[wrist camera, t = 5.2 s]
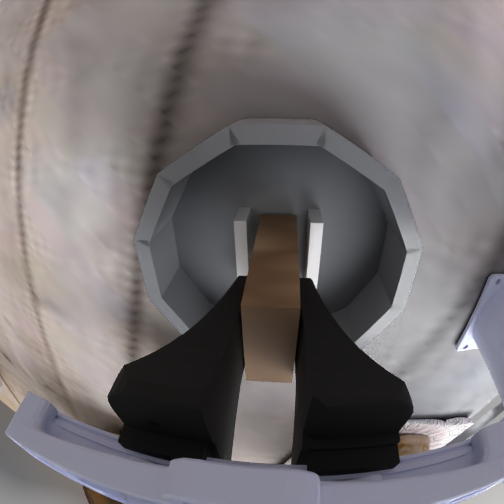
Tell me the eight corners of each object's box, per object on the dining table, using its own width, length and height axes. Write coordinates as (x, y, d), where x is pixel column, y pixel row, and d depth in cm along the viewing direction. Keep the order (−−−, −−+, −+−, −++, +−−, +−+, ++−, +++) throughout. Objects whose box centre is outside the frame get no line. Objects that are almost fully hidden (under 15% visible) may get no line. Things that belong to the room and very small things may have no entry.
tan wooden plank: (296, 214, 14) (300, 308, 9) (293, 279, 17) (291, 382, 11) (260, 213, 15) (240, 305, 9) (261, 278, 17) (246, 380, 11)
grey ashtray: (406, 129, 13) (441, 141, 9) (369, 326, 19) (380, 368, 16) (153, 126, 14) (115, 137, 11) (184, 318, 21) (168, 358, 17)
